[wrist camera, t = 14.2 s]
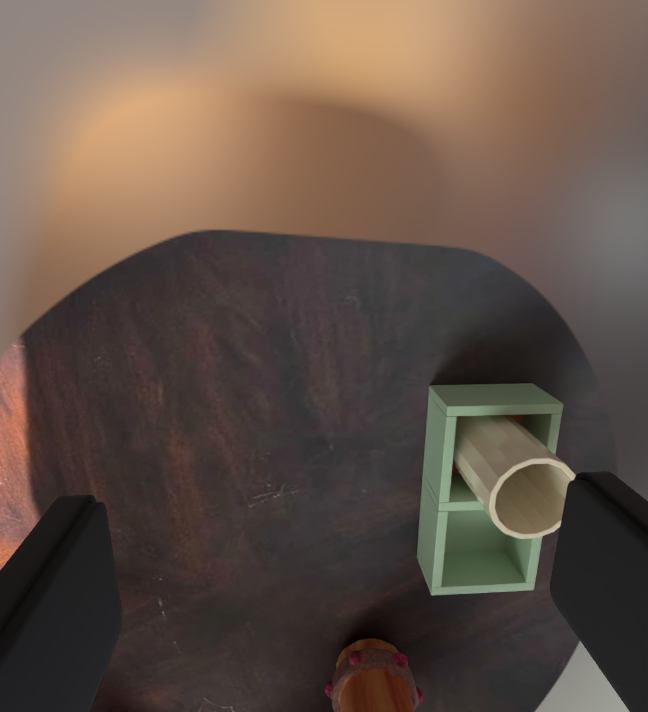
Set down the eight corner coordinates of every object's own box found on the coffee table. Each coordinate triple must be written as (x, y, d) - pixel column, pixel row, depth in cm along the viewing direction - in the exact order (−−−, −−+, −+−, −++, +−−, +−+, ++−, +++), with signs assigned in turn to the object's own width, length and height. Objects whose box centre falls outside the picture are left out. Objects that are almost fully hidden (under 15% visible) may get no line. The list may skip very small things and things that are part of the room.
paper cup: (448, 405, 38) (495, 459, 29) (519, 403, 39) (586, 457, 30) (442, 471, 40) (485, 540, 31) (510, 468, 40) (571, 536, 32)
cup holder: (429, 384, 38) (447, 406, 34) (532, 382, 39) (563, 403, 35) (416, 557, 43) (431, 595, 39) (509, 552, 44) (533, 590, 39)
